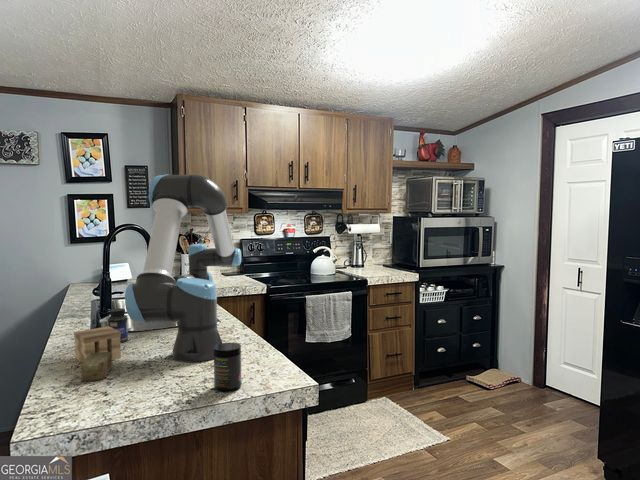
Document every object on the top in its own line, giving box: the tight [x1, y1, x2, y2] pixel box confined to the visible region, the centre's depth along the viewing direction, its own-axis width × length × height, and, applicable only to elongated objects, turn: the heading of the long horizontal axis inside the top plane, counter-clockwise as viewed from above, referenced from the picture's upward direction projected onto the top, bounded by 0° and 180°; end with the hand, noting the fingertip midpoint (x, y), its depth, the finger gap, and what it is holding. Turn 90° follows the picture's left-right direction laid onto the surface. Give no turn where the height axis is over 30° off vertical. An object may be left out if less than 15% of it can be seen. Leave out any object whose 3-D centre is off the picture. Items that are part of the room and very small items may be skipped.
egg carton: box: [99, 314, 128, 328], centre depth 173 cm, size 11×8×4 cm
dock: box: [73, 326, 122, 364], centre depth 132 cm, size 10×10×8 cm
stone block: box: [80, 352, 113, 382], centre depth 118 cm, size 6×12×5 cm, turn 16°
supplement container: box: [213, 342, 243, 393], centre depth 108 cm, size 7×7×10 cm
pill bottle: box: [108, 307, 129, 344], centre depth 149 cm, size 6×6×11 cm
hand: (140, 293), depth 158 cm, fingers open, 13 cm apart
